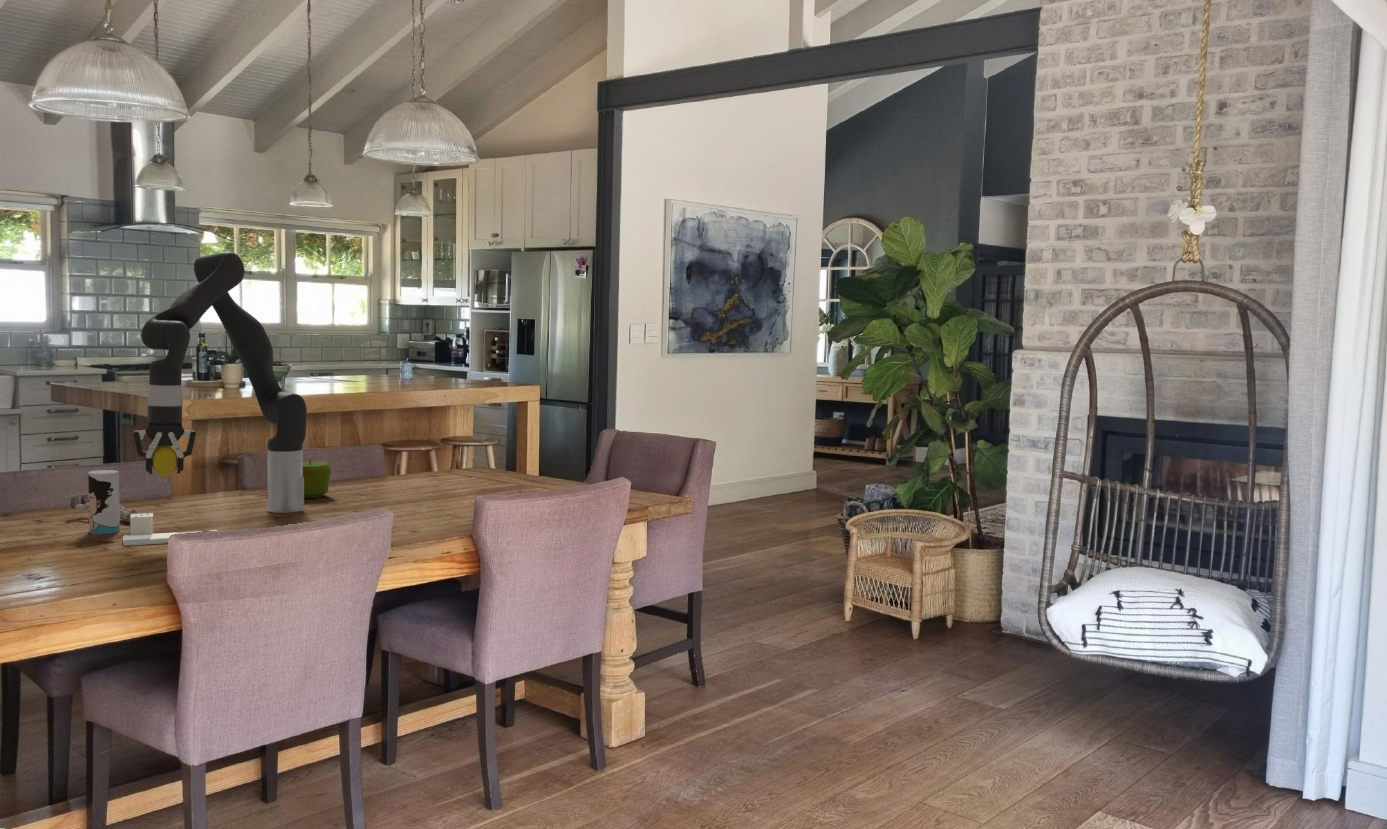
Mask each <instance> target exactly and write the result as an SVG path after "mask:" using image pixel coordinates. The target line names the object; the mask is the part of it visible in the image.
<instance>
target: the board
mask: <svg viewBox="0 0 1387 829" xmlns="http://www.w3.org/2000/svg"><path fill="white" fill-rule="evenodd" d="M217 530H218V529H215V530H214V529H213V530H210V531H217ZM202 531H203V530H199V531H198V530H197V531H196V530H195V531H194V530H193V531H178V532H163V533H162V532H160V533H153V534H139V535H131V534H125V535H123V536H122V542H123V546H124V547H125V546H128V547H129V546H141V545H159V544H160V545H162V544H168V543H167V541H168V539H169V537H170V536H171V535H174V534H185V533H197V532H202Z"/></svg>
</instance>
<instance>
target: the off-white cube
mask: <svg viewBox="0 0 1387 829" xmlns="http://www.w3.org/2000/svg"><path fill="white" fill-rule="evenodd" d="M129 527H130V535H139V534H154V513H153V512H147V513H145V512H144V513H140V514H131V516H130V523H129Z"/></svg>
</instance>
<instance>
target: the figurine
mask: <svg viewBox="0 0 1387 829" xmlns="http://www.w3.org/2000/svg"><path fill="white" fill-rule="evenodd" d="M69 502H70V503H69V504H70V508H71V509H75V510H76V509H77V510H78V509H80V510H89V494H88V493H81V495H80V496H79V495H78V494H75V495H74V494H72V495H71V496H70V501H69ZM131 514H141V512H140V511H138V510H136V509H126V508H125V507H124V506H122V504H121V503H119V518H120V520H121V521H120V523H122V522H126V523H129V524H130V516H131Z"/></svg>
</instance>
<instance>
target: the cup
mask: <svg viewBox="0 0 1387 829" xmlns="http://www.w3.org/2000/svg"><path fill="white" fill-rule="evenodd" d="M87 473H88V479H87V480H88V500H89V508H88V524H89V525H88V527H89V529H88V533H89V534H92V535H108V534H109V535H110V534H116V533H119V532H120V531H121V530H120V528H121V524H120V523H121V521H120V520H121V519H120V518H119V504H120V471H119V470H115V469H99V470H98V469H97V470H91V471H88V472H87Z"/></svg>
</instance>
